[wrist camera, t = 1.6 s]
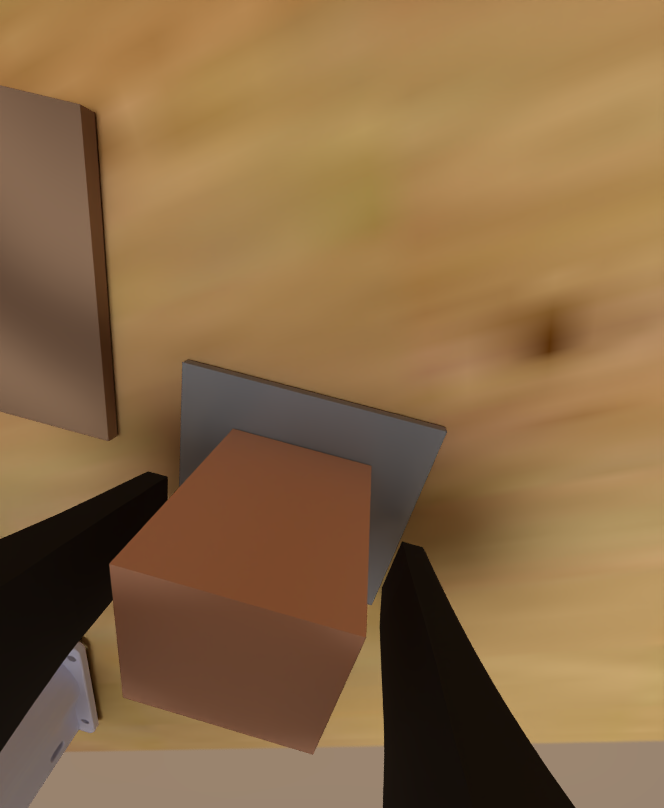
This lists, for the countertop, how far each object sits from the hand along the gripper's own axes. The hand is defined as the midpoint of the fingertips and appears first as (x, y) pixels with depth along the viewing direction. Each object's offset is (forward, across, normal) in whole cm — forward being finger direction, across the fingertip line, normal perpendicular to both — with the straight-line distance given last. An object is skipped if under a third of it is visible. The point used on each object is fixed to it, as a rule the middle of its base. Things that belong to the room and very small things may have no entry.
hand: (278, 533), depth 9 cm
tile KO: (+2, 0, 0) cm, 2 cm away
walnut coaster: (+2, +11, -5) cm, 12 cm away
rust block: (+1, 0, 0) cm, 1 cm away
